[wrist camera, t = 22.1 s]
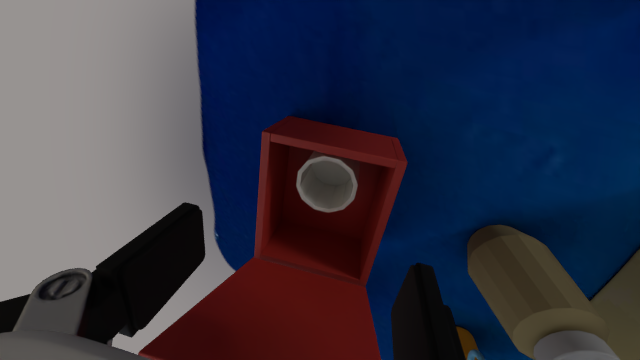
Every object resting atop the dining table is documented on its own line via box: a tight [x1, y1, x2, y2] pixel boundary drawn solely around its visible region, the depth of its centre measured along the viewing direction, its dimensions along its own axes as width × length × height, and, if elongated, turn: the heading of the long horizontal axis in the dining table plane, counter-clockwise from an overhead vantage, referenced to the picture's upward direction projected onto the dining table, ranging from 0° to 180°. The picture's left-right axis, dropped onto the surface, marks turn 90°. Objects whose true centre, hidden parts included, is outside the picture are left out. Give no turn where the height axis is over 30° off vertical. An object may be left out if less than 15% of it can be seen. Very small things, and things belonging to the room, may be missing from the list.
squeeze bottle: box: [467, 225, 620, 360], centre depth 22 cm, size 8×8×18 cm
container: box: [296, 151, 360, 213], centre depth 26 cm, size 6×6×6 cm
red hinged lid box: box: [254, 116, 407, 287], centre depth 28 cm, size 15×13×8 cm
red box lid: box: [138, 257, 381, 360], centre depth 19 cm, size 15×13×5 cm
